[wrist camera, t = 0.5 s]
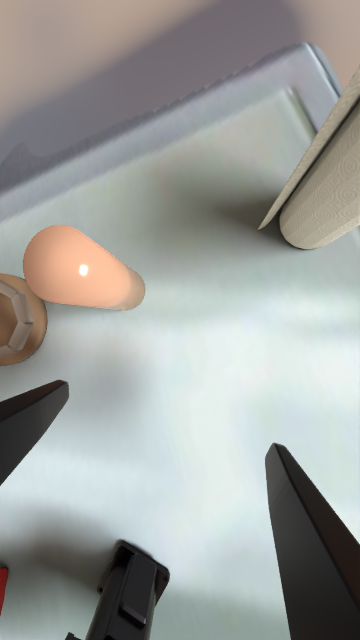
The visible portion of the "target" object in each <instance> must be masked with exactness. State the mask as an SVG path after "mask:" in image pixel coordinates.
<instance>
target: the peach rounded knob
mask: <svg viewBox="0 0 360 640" xmlns="http://www.w3.org/2000/svg"><path fill="white" fill-rule="evenodd" d="M23 272H24V276H25V279H26V282H27V284H28V286H29V287H30V289H31V290H32V291H33V292H34V293H35V294H36V295H37V296H38V297H40V298H41V299H43V300H45V301H49V302H53V303H61V304H70V305H79V306H87V307H96V308H105V309H114V310H123V311H127V310H131V309H134V308H135V307H137V306H138V305H139V304H140V303H141V302H142V300H143V298H144V295H145V284H144V281H143V279H142V277H141V276H140V275H139V274H138V273H137V272H135V271H134V270H132V269H131V268H130V267H128V266H127V265H126V264H124V263H123V262H121V261H120V260H119V259H117V258H116V257H114V256H113V255H112V254H110V253H109V252H108V251H106V250H105V249H103V248H102V247H101V246H99V245H98V244H96V243H95V242H94V241H92V240H91V239H90V238H88V237H87V236H85V235H84V234H83V233H81V232H80V231H78V230H77V229H75V228H73V227H70V226H66V225H54V226H50V227H47V228H45V229H43V230H41V231H40V232H39V233H37V234H36V235H35V236H34V237H33V238H32V240H31V241H30V242H29V244H28V246H27V248H26V251H25V254H24V259H23Z"/></svg>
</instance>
